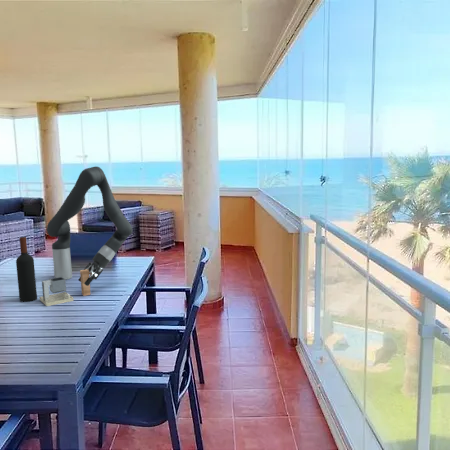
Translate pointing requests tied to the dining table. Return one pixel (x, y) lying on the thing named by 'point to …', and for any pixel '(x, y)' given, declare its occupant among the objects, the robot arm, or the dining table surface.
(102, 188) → the robot arm
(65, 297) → the cup bracket
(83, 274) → the tan wooden block
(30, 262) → the wine bottle
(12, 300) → the dining table surface
